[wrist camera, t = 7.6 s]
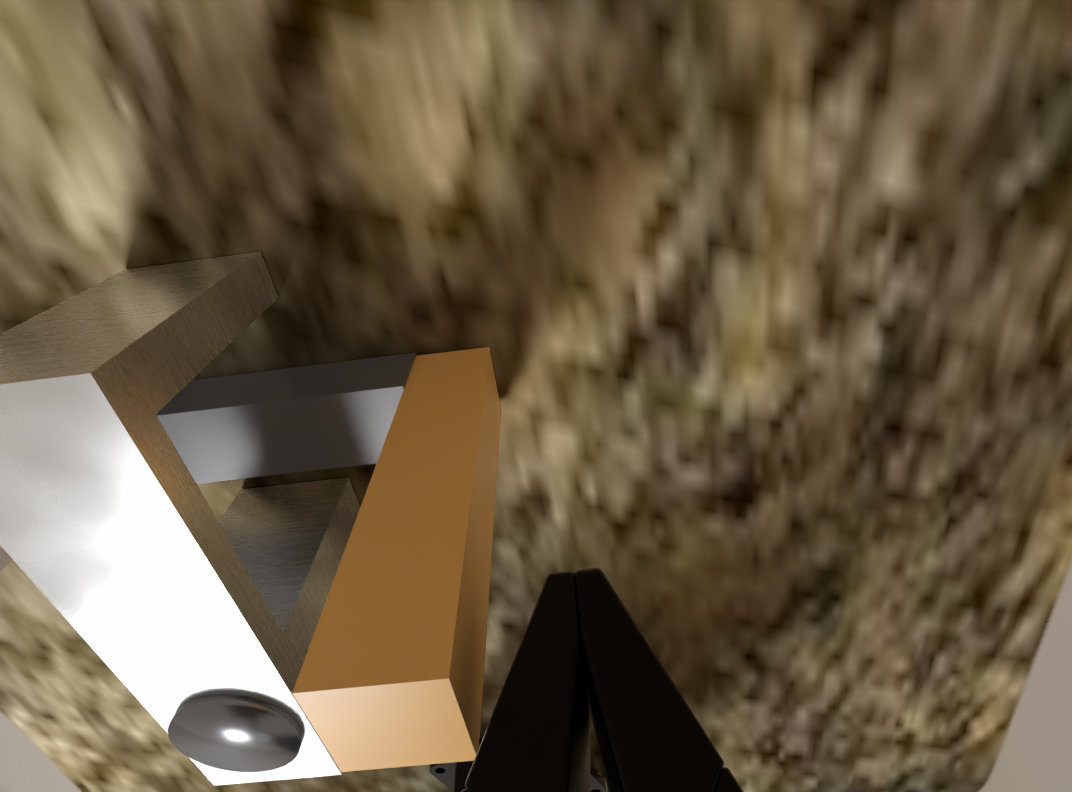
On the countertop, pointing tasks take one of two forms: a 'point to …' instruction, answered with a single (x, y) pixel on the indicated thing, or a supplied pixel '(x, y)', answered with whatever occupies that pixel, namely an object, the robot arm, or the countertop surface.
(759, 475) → the countertop surface
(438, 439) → the multicoloured u-shaped piece
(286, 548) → the housing
